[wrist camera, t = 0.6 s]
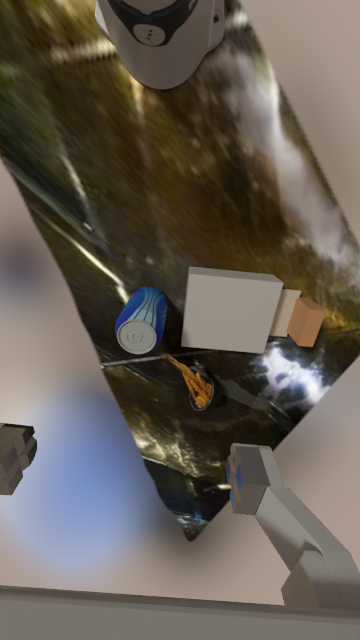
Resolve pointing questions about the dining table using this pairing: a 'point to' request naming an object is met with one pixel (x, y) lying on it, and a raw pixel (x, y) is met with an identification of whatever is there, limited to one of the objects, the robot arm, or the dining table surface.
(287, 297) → the tan-tipped white bar
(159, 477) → the dining table surface
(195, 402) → the fried shrimp in bowl
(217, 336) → the block
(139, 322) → the beer can
